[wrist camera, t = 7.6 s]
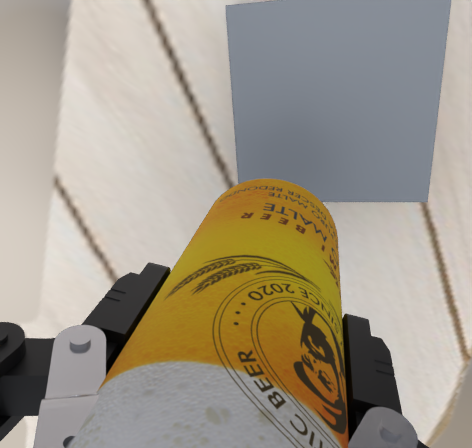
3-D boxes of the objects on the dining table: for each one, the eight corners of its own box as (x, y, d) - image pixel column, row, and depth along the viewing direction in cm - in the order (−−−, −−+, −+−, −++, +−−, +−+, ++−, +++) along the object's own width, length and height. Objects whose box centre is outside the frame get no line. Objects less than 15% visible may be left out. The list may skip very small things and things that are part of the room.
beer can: (364, 244, 19) (455, 755, 6) (265, 307, 22) (168, 761, 8) (277, 144, 18) (137, 497, 5) (183, 223, 20) (-84, 597, 7)
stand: (420, 190, 37) (427, 202, 35) (245, 190, 41) (239, 201, 38) (442, -13, 31) (453, -18, 28) (233, 7, 34) (225, 5, 32)
